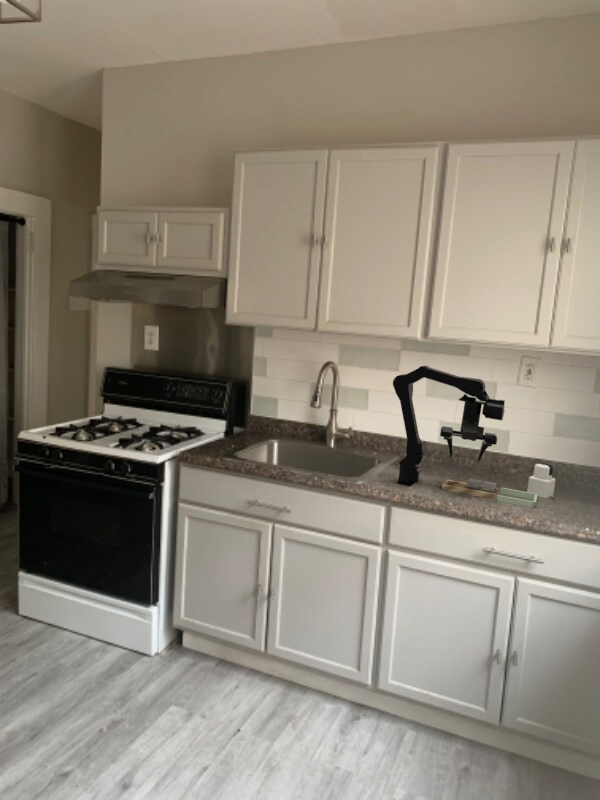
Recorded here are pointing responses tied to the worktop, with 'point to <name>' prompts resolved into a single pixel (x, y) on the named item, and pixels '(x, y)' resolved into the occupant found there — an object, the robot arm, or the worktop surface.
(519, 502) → the green tray
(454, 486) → the wooden tray
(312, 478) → the worktop surface
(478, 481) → the grey cube
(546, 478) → the medicine bottle
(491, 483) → the grey square block
